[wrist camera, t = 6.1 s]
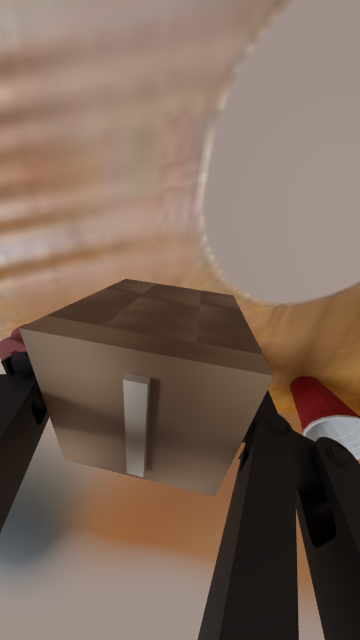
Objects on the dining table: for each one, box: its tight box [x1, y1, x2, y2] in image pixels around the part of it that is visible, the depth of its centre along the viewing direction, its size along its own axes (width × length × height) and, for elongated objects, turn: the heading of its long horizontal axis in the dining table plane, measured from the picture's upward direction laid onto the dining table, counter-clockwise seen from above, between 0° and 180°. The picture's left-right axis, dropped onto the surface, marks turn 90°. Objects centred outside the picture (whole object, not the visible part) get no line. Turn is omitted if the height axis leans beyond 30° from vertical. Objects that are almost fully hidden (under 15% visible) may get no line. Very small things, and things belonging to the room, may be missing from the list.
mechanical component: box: [0, 324, 27, 360], centre depth 35 cm, size 12×10×10 cm
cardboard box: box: [19, 279, 274, 496], centre depth 10 cm, size 8×8×8 cm
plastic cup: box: [291, 377, 360, 460], centre depth 32 cm, size 11×11×12 cm
